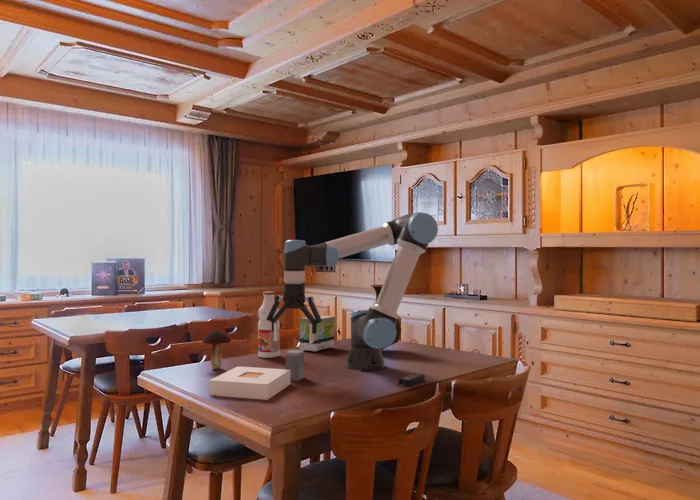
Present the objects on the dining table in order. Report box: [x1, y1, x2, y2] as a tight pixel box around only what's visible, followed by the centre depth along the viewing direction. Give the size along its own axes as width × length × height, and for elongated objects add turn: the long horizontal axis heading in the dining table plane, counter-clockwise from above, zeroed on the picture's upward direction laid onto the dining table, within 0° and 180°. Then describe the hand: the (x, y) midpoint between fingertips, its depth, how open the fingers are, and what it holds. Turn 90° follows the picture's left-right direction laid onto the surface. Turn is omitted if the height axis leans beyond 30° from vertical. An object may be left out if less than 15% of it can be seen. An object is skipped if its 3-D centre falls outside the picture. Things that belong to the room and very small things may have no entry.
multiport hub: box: [398, 372, 426, 388], centre depth 188 cm, size 4×11×2 cm, turn 142°
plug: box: [284, 349, 305, 382], centre depth 192 cm, size 5×5×10 cm
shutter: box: [241, 373, 263, 378], centre depth 178 cm, size 6×6×1 cm
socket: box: [208, 366, 291, 401], centre depth 178 cm, size 20×20×5 cm
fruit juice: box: [257, 290, 281, 359], centre depth 232 cm, size 9×9×28 cm
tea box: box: [299, 314, 336, 352], centre depth 249 cm, size 15×10×15 cm, turn 148°
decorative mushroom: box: [201, 330, 232, 370], centre depth 207 cm, size 11×11×15 cm
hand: (293, 341), depth 192 cm, fingers open, 13 cm apart
